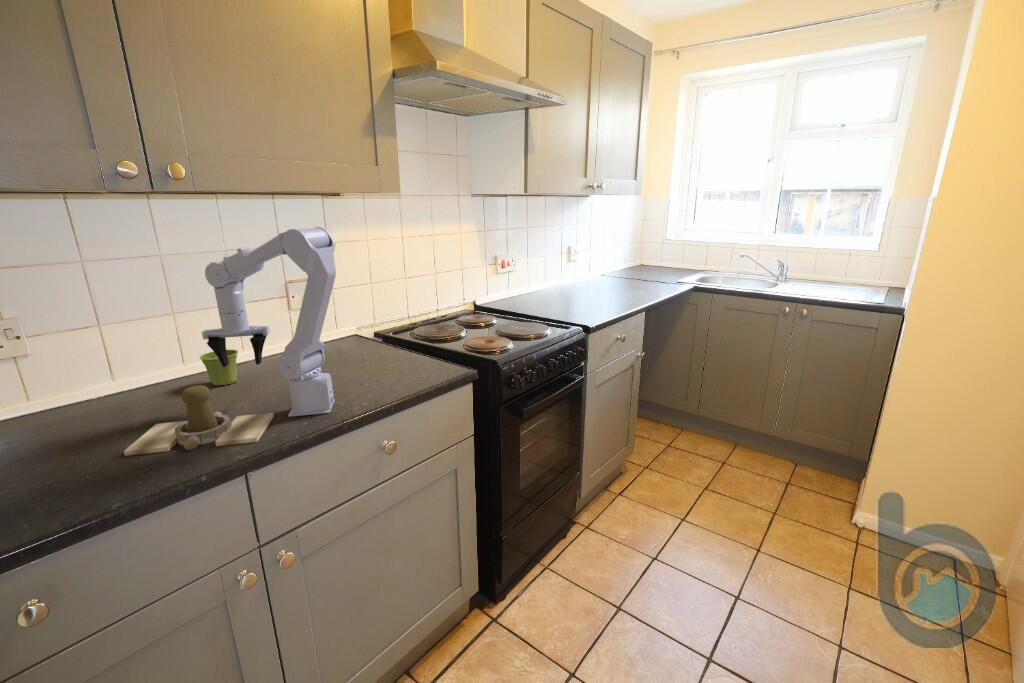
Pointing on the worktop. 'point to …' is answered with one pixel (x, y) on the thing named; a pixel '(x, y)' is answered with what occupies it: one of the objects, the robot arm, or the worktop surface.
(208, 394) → the cork
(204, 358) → the plant pot
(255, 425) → the hinge base
